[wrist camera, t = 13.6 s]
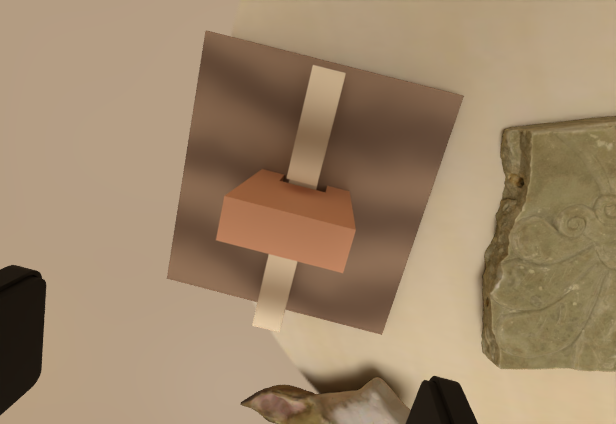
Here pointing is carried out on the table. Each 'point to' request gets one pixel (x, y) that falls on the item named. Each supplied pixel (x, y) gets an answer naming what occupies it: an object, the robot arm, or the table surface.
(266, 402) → the ceramic sculpture
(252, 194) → the notched plate
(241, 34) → the table surface
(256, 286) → the slotted stand
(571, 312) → the decorative tile
